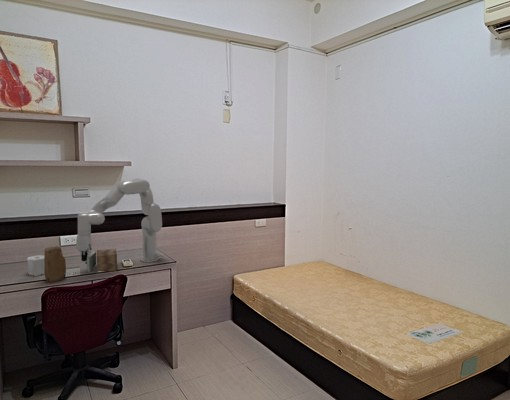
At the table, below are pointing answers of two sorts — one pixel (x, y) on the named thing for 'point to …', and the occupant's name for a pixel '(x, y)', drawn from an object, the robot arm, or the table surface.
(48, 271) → the block
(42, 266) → the toilet tissue
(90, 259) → the green rectangular block
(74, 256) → the table surface
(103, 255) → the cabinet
